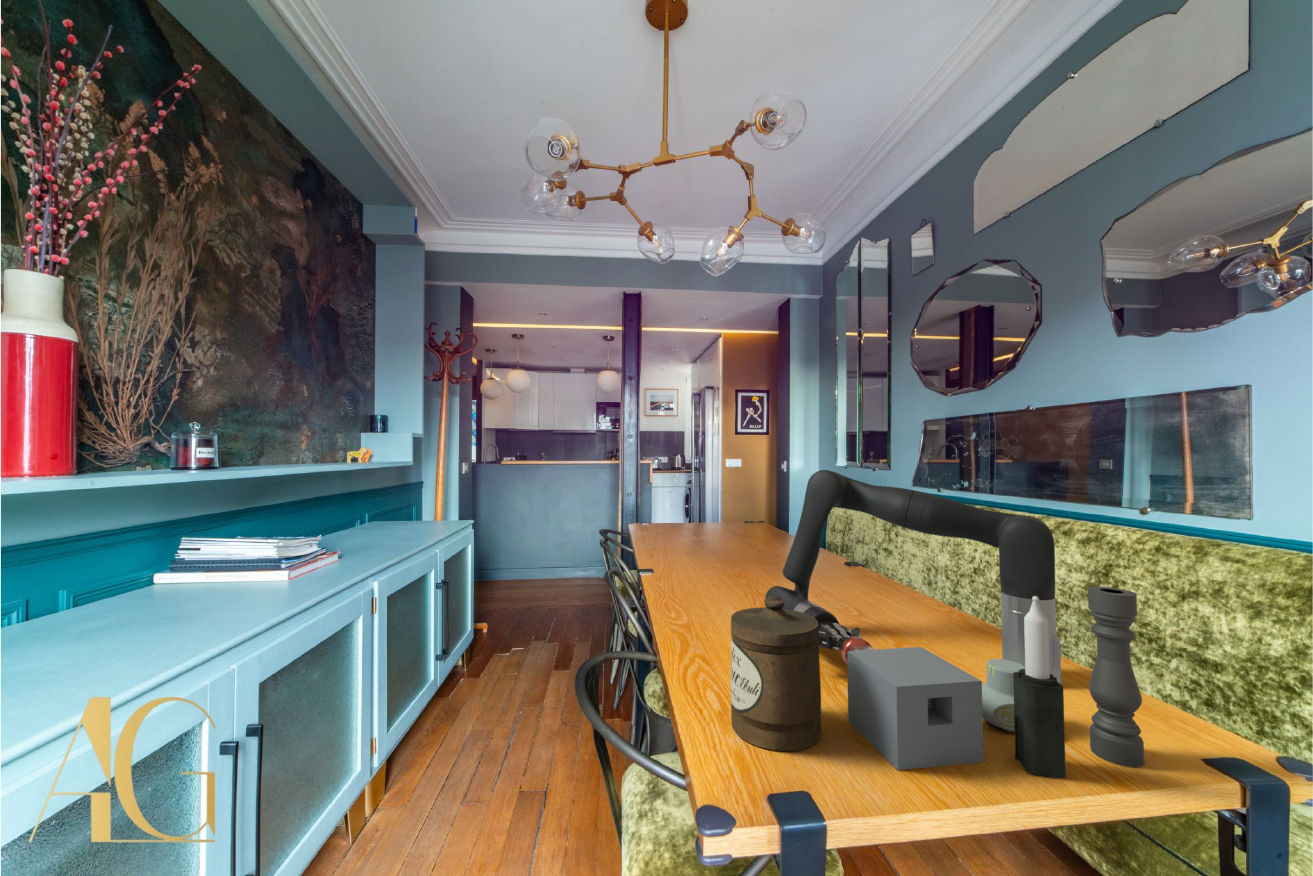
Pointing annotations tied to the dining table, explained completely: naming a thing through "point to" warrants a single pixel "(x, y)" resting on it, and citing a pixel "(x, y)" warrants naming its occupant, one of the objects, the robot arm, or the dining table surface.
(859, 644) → the plunger
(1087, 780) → the dining table surface
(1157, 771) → the dining table surface
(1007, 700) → the air freshener
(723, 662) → the dining table surface
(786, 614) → the wooden container
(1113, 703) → the candle holder
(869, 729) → the housing
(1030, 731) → the candle
